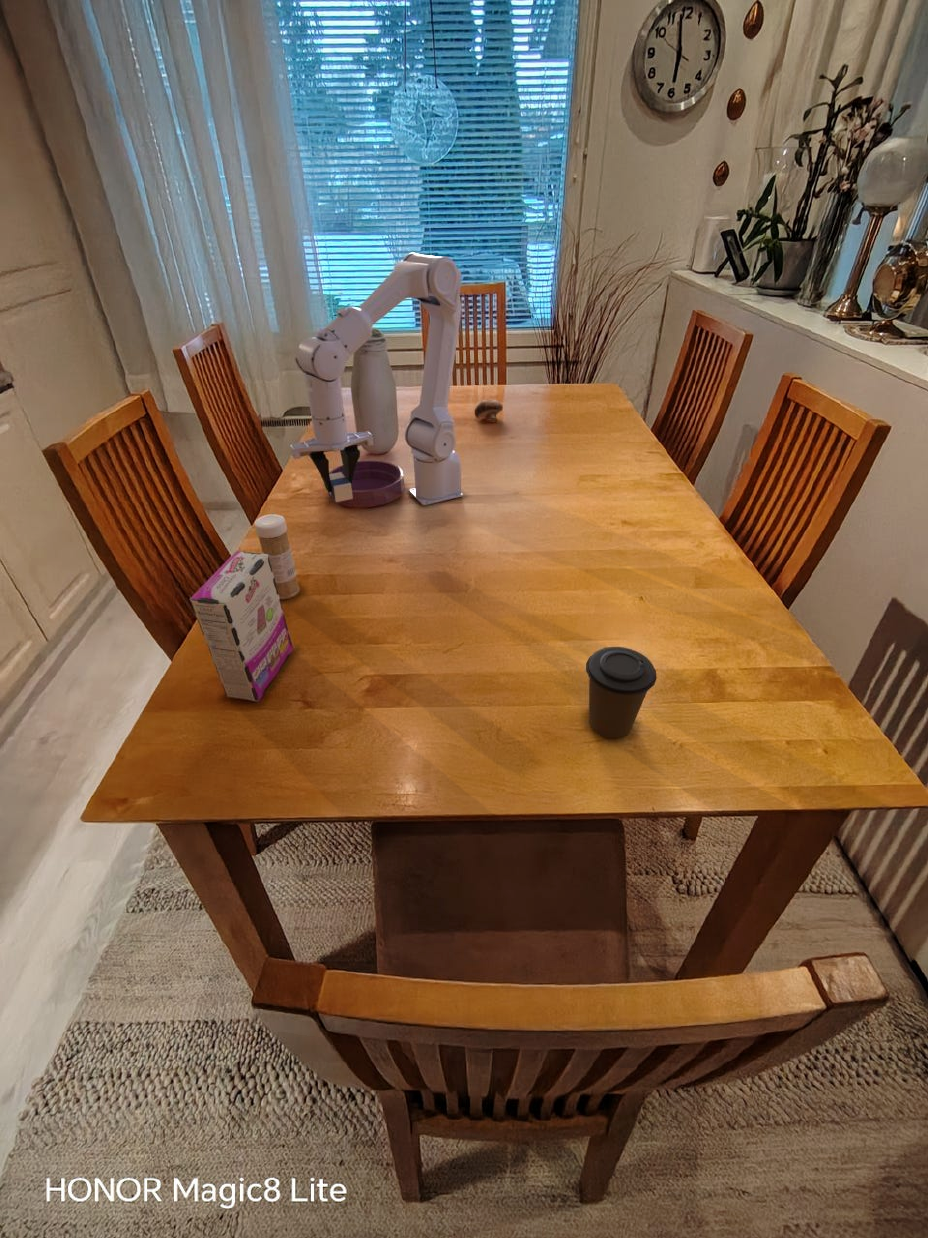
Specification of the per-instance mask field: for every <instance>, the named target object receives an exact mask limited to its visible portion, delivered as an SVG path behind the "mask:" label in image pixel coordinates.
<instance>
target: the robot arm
mask: <svg viewBox="0 0 928 1238" xmlns="http://www.w3.org/2000/svg"><path fill="white" fill-rule="evenodd" d="M462 278H463V274H462V273H461V271H460V270H459V268H458V266H457V264H456V263H455V261H454V260H453V259H452V258H451V257H449V256H444V255H443V256H435V255H427V254H420V253H418V252H410V253H408V254H406V255H404V257H403V258H402V260H399V261H398V262H396V263H395V264H394V266H393V269H392V271H391V273H390V274H389V275H388V276H387V277H385V279H384V280H383V281H382V282H381V283H380V284H379V285H378V286H377V287H376V289H374V290H373V292H371V294H370V295H369V296H368V297H367V298H366V299H365V300H364V301H363V302H362V303H361V304H360V305H359V306H358V307H355V306H347V307H340V308H339V309H338V310H337V311H336V314H337V316H336V317H335V318H334V319H333V320H332V321H330V322H329V323H328V324H327V325H326V326H325V327H324V328H319V329H318V330H317V331H316V334H317V335H316V336H315V337H307V338H305V339H304V340H303V341H301V343H300V344H299V346H298V349H297V353H296V357H294V361H295V364H296V366H297V368H298V369H299V370H300V371H301V372H302V373H303V375H304V380H305V385H306V393H307V396H308V404H309V411H310V416H311V422H312V429H313V436H314V437H313V438H310V439H307V440H304V441H301V442H297V443H294V444H290V445H289V448H290V449H289V450H290V454H291V456H292V458H293V459H294V460H299V459H301V457H307V456H309V458H310V460H311V462H313V464H314V466H315V467H316V469H317V471H318V473H319V475H320V477H321V479H322V481H323V485H324V488H325V490H326V491H327V493H328V492H332V486H331V481H330V476H329V472H330V461H329V459H328V458H327V456H326V454H325V453H328V452H339V453H340V458H341V461H342V465H343V469H344V476H345V477H346V478H347V479H348V480H349V482H350V483H351V488H352V482H353V475H354V470H355V467H356V464H357V462H358V461H359V459H360V457H361V451H360V449H359V448H358V447H362V445H368V446H370V445H373V438H372V434H371V433H370V432H360V433H357V432H348V428H347V420H346V411H345V405H344V404H345V403H344V397H343V389H342V382H341V381H342V380H341V376H342V375H343V374H344V372H345V369H346V364H347V361H348V360H350V358H351V357H352V356H354V353H355V352H356V351H357V350H358V349H359V348H360V347H361V346H362V345H363V344H364V343H365V342H366V341H368V340H369V339H370V338H371V336H372V327H373V326H374V325H375V324H377V322H379V321H380V320H382V318H384V317H385V316H386V315H388V314H389V313H390V312H391V311H393V310H394V309H395V308H396V307H397V306H398V305H400V304H401V303H402V302H404V301H405V300H406V299H416V300H417V301H419V302H420V303H421V305H422V306H423V308H424V309H425V311H426V312H427V314H428V315H429V327H428V333H427V342H426V350H425V357H424V359H425V360H424V365H423V375H422V383H421V389H420V397H419V398H420V399H419V404H418V405H417V406H416V407H414V408H413V409H412V410H411V412H410V417H409V421H408V422H407V425H406V427H405V429H404V430H405V431H404V440H405V443H406V444H407V445H408V446H409V447H410V449H411V454H412V455H413V456H412V459H413V474H414V475H413V476H414V488H409V489H408V492H409V493H410V495H411V496H412V497H413V498H415V499H416V501H418V503H420V504H421V505H422V506H428V505H432V504H437V503H440V502H441V503H442V502H444V501H445V502H446V501H449V500H453V499H457V498H462V497H464V493H462V464H461V460H460V456H459V455H458V453H457V452H456V451H455V448H456V441H457V439H456V433H455V426H456V422H455V419H454V418H453V417H452V415H451V413H450V411H449V410H448V407H449V406H448V405H449V399H450V391H451V384H452V379H453V373H454V364H455V358H456V351H457V344H458V337H459V331H460V323H461V317H462V303H461V295H460V293H461V286H462V280H463V279H462Z"/></svg>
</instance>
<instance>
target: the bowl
mask: <svg viewBox="0 0 928 1238" xmlns="http://www.w3.org/2000/svg"><path fill="white" fill-rule="evenodd" d="M339 472H341V473H342V474H343V475H344V469H343V464H341V465H338V466H337V467H335V468H333V469H332V470H329V474H334V473H339ZM404 492H405V478H404V471H403V469H402V468H401V467H400V466H399V465H396V464H394V463H391V462H388V461H383V460H358V462H357V464H356V467H355V470H354V475H353V482H352V496H353V499H349V500H344V501H340V502H336V503H337V504H339V505H342V506H346V507H350V508H351V507H353V508H369V507H371V508H372V507H376V506H381V505H385V504H388V503H390V502H393V501H395V500H397V499H398V498H399V497H400V496H402V495H403V493H404ZM327 493H328V497H329V498H330V499H331V500H332V501H333V502H335V500H334V499H333V498H332V496H331V495H330V493H329V492H328V491H327Z"/></svg>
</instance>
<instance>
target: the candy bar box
mask: <svg viewBox="0 0 928 1238" xmlns="http://www.w3.org/2000/svg"><path fill="white" fill-rule="evenodd" d="M189 601H190V604H191V607H192V610H193V613H194V615H195V617H196V619H197V622H198V626H199V628H200V631H201V632H202V636H203V638H204V641H205V643H206V646H207V648H208V650H209V653H210V656H211V657H210V658H211V659H212V661H213V664H214V667H215V669H216V673H217V674H218V677H219V680H220V682H221V685H222V687H223V690H224V693H225V696H226V697H227V698H230V699H235V700H244V701H250V702H256V703H257V702H260V700H261V699H262V697H263V696H264V695H265V693H266V691H267V690H268V688H269V686H270V685H271V684H272V682H273V681H274V679H275V677H276V676H277V674H278V673H279V672H280V670H281V668H282V667H283V666H284V663H286V661H287V660H288V658H289V657H290V655H291V654H292V652H293V651H294V647H293V642H292V639H291V635H290V632H289V627H288V624H287V620H286V617H285V613H284V610H283V606H282V603H281V599H280V597H279V594H278V590H277V586H276V582H275V579H274V575H273V571H272V567H271V563H270V560H269V555H268V554H262V553H257V552H250V551H249V552H246V551H242V550H238V551H235V552H234V553H232V555H231V556H230V557H229V558H228V559H227V560H226V561H224V563H223V564H222V565H221V566H220V567H219V568H218V569H217V570H216V571H215V572H214V573H213V574H212V575H211V576H210V578H209V579H207V580H206V582H205V583H204V584H203V585H202V586H201V587H200V588H199V589H198V590H196V592H195V593H194V594H193V595H192V596H191V597H190V598H189Z"/></svg>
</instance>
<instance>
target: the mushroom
mask: <svg viewBox="0 0 928 1238" xmlns="http://www.w3.org/2000/svg"><path fill="white" fill-rule="evenodd" d="M503 406H504V405H503V404H502V403H501V402H500V401H499V400H495V399H489V398H488V399H484V400H482V401H480V402H479V403H478V404H477V405H476V406H475V408H474V416H475V418H476V419H479V420H481V419H485V420H486V421H487V422H488V423H489V422H491V423H496V422H498V421H499V419H498V418H497V415H498V414H500V413H501V412H502V411H503V408H504V407H503Z"/></svg>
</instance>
